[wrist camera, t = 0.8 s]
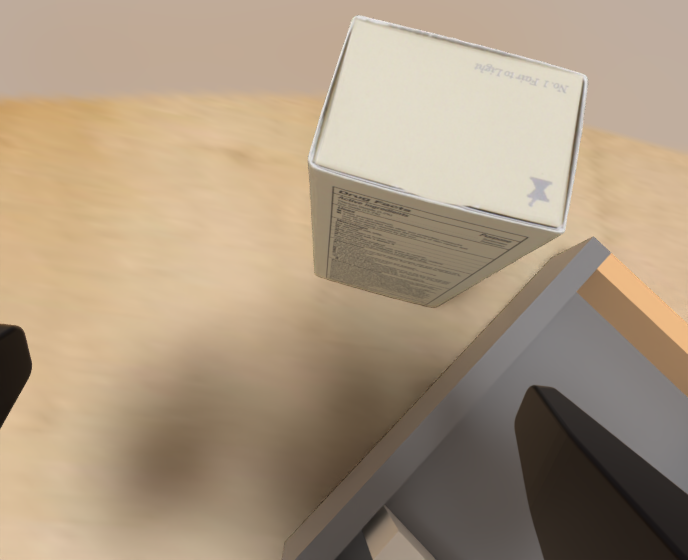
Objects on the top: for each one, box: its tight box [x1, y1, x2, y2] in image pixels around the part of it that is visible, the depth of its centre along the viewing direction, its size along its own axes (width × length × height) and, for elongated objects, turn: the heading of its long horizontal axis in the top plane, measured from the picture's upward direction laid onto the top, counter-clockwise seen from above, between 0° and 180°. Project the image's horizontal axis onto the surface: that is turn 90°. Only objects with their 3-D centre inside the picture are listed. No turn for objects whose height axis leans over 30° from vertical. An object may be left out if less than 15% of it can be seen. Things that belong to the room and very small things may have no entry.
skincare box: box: [308, 15, 588, 308], centre depth 17 cm, size 6×4×12 cm
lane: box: [282, 236, 688, 560], centre depth 18 cm, size 12×18×6 cm, turn 135°
